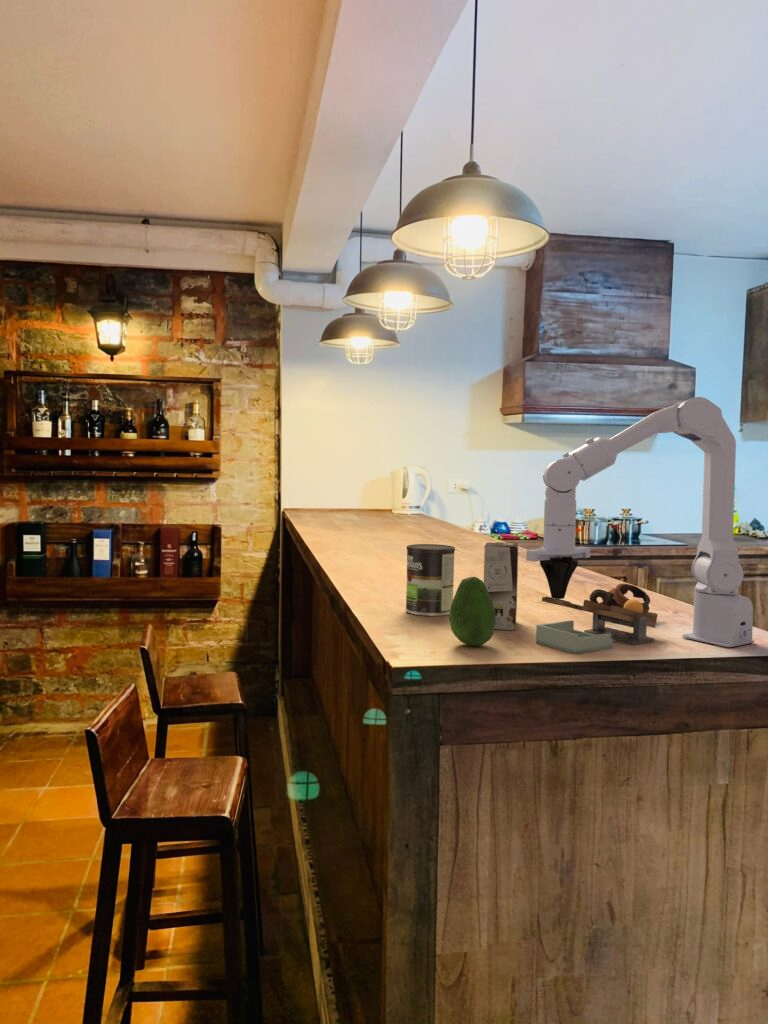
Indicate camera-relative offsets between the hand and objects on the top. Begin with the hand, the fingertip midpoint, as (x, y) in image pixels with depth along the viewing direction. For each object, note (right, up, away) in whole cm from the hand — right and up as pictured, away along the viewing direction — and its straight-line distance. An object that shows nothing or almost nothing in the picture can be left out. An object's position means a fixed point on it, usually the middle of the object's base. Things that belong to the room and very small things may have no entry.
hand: (557, 598), depth 139 cm
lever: (+7, -4, 0) cm, 8 cm away
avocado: (-17, -7, -10) cm, 21 cm away
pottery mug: (+17, -6, +17) cm, 25 cm away
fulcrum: (+11, -7, -2) cm, 13 cm away
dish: (+1, -7, -8) cm, 11 cm away
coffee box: (-10, -7, +8) cm, 14 cm away
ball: (+14, -2, 0) cm, 14 cm away
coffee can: (-23, -6, +21) cm, 31 cm away
